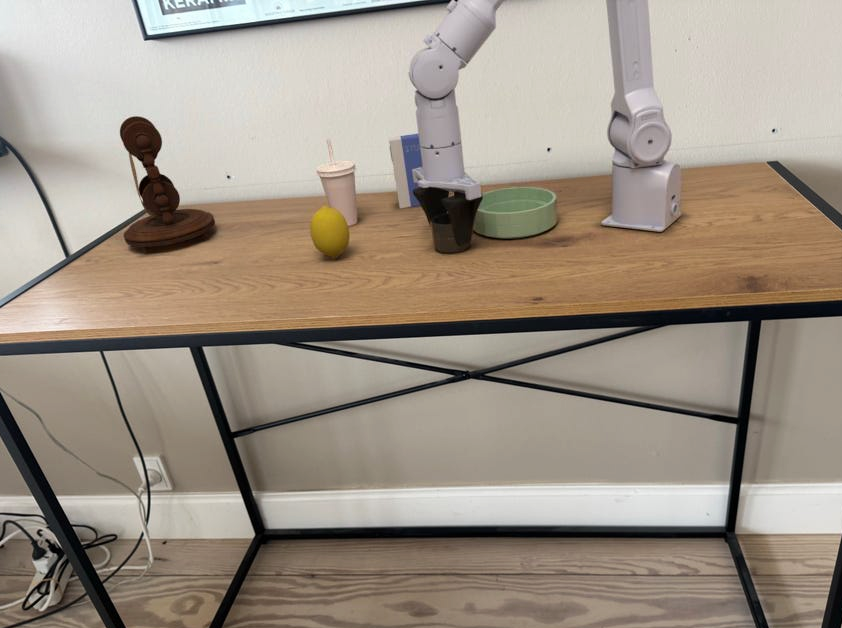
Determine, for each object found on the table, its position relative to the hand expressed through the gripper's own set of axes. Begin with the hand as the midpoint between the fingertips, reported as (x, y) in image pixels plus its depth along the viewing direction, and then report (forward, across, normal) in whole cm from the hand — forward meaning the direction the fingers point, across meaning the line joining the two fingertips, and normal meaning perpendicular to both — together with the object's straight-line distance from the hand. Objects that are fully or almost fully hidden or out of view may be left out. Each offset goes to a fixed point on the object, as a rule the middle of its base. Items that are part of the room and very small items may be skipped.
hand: (451, 238), depth 102 cm
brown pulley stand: (+2, -42, -30) cm, 51 cm away
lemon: (+2, -10, -14) cm, 18 cm away
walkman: (+2, -23, +9) cm, 25 cm away
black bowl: (+1, 0, 0) cm, 1 cm away
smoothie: (+2, -24, -6) cm, 25 cm away
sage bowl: (+1, 0, +12) cm, 12 cm away
